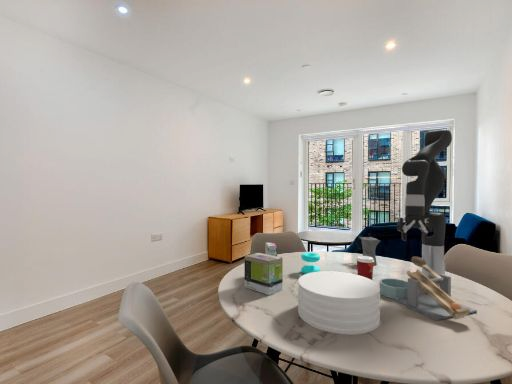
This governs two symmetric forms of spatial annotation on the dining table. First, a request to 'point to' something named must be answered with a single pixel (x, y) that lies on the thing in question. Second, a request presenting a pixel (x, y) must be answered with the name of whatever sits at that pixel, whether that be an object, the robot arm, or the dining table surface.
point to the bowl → (393, 288)
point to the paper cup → (365, 266)
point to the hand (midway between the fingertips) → (414, 241)
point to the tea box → (263, 273)
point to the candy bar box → (270, 249)
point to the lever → (435, 288)
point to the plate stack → (339, 302)
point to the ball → (456, 306)
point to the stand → (428, 300)
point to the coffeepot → (368, 246)
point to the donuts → (310, 258)
